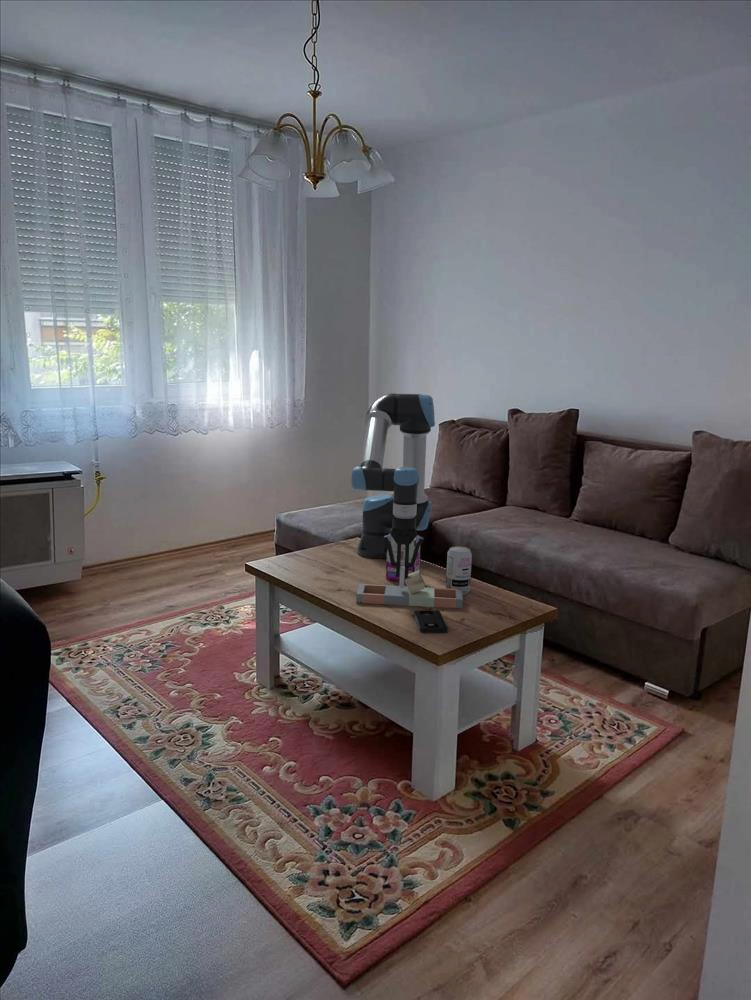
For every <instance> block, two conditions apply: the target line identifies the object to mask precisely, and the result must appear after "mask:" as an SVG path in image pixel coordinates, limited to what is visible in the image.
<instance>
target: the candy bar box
mask: <svg viewBox="0 0 751 1000" xmlns="http://www.w3.org/2000/svg"><path fill="white" fill-rule="evenodd" d="M391 545H392V550H393V555H394V559H395V562H397V543H396V542H395V541H394V539H393V538H392V537H391ZM415 546H416V538H415V539H414V540H413V541H412V543H411V544H409V562H411V559H412V556H413V552H414V549H415ZM420 563H421V546H420V547H419V550H418V554H417V557H416V561H415V564H414V566H413V567H409V569H408V574H411V573H414V572H416V571H420V565H421V564H420ZM400 566H405V545H404V544H403V545H401V564H400ZM385 569H386V570H385V579H386V580H387V581H393V582H397V583H400V577H397V576H396V567H395V566H392V565H391V562H390V557H389V552H388V548H387V558H386V568H385ZM420 572H421V571H420ZM404 584H406V583H405V578H404Z"/></svg>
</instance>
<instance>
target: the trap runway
mask: <svg viewBox="0 0 751 1000" xmlns="http://www.w3.org/2000/svg"><path fill="white" fill-rule="evenodd" d="M357 587H358V588H357V590H356V594H355V603H356V602H358V603H357V604H373V605H374V604H375V605H392V606H409V607H410V606H412V607H429V608H446V609H461V610H463V603H464V602H463V601H464V599H463V595H462V589H447V588H446V587H445V588H444V587H426V586H425V589H423V590H420V591H418V592H415V593H412V594H410V592H409V590H408V587H407V585H406V586H405V585H404V588H399V585H393V584H391V585H389V584H373V583H371V584H369V583H368V584H367V583H359V584H358V586H357ZM360 602H361V603H360Z"/></svg>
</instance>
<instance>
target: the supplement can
mask: <svg viewBox="0 0 751 1000" xmlns="http://www.w3.org/2000/svg"><path fill="white" fill-rule="evenodd" d="M446 555H447V557H446V576H445V588H447V589H462V596H464V595H467V594H468V593H469V592H470V590H471V576H472V574H471V573H472V561H473V559H472V557H473V553H472V551H471V549H470V548H468V547H467V546H459V545H457V546H451V547H449V549H448V550H447V554H446Z"/></svg>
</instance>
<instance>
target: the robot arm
mask: <svg viewBox="0 0 751 1000" xmlns="http://www.w3.org/2000/svg"><path fill="white" fill-rule="evenodd" d="M434 406H435V405H434V399H433V397H432V396H431V395H429V394H421V393H395V392H392V393H387V394H384V395H382V396H380V397H379V398H377V399H376V400H374V402H373V403H371V405H370V407H369V408H368V410H367V412H366V415H365V418H364V419H365V421H364V422H365V425H366V430H365V436H364V441H363V448H362V452H361V458H360V464H359V466H354V467H352V471H351V487H352V488H353V489H354V490H359V491H375V492H376V491H378V492H393V495H390V494H375V495H371V496H368V497H366V498H365V499H364V500H363V503H362V510H361V511H362V527H361V529H362V531H361V532H362V533H361V536H360V539H359V542H358V545H357V551H356V552H357V554H358V555H359V556H361V557H364V558H368V559H387V548H388V552H389V557H390V562H391V565H392V566H395V567H396V576H397V577H400V582H398V583H399V585H398V586H399V588H404V586H405V583H404V578H407V577H408V569H409V567H413V566H414V564H415V561H416V557H417V554H418V550H419V547H420V548H421V545H422V544H423V542H424V537H423V536H420V535H418V532H417V531H424V530H426V529H428V526H429V521H430V515H431V509H432V501H430V500H429V499H428V498H429V496H428V495H427V494H426V493H425V486H426V485H425V483H426V482H425V481H426V458H427V457H426V456H427V455H426V453H427V452H426V451H427V435H429V433H430V432H431V429H432V428H433V427H435V426H436V422H435V420H436V419H435V418H436V417H435V407H434ZM392 426H399V431H400V433H402V435H403V445H402V446H403V448H402V450H403V451H402V466H399V467H396V468H386V467H383V465H384V457H385V452H386V443H387V436H388V432H389V431H388V430H389V429H390V428H391V427H392ZM391 537H392V538H393V539H394V541H395V542H396V543H397V562H395V559H394V555H393V550H392V545H391ZM415 538H416V546H415V549H414V552H413V556H412V559H411V562H409V544H411V543H412V541H413V540H414V539H415ZM403 544H404V545H405V566H400V564H401V545H403Z"/></svg>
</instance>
